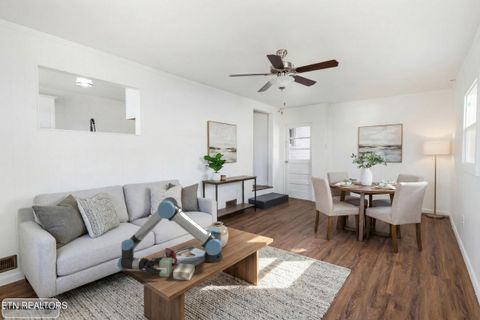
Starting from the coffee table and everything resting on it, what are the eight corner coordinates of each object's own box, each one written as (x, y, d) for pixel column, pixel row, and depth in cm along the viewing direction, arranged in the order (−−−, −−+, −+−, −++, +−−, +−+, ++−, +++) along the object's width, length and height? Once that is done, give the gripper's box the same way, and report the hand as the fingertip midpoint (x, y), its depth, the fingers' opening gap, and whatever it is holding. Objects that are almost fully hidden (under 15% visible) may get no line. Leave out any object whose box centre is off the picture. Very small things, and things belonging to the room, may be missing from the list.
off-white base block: (194, 271, 163) (194, 264, 163) (189, 280, 152) (189, 272, 152) (179, 270, 164) (179, 263, 164) (173, 279, 154) (173, 271, 153)
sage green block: (171, 272, 162) (171, 257, 162) (168, 276, 157) (168, 262, 156) (163, 271, 163) (163, 257, 163) (159, 276, 157) (159, 261, 157)
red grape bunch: (171, 267, 168) (171, 253, 168) (162, 262, 176) (161, 248, 176) (179, 264, 174) (179, 250, 173) (170, 259, 182) (169, 246, 181)
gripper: (150, 260, 174) (177, 262, 172) (130, 279, 149) (162, 281, 147) (149, 250, 174) (177, 252, 171) (130, 267, 149) (162, 269, 147)
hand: (170, 265), depth 159 cm, fingers open, 13 cm apart
